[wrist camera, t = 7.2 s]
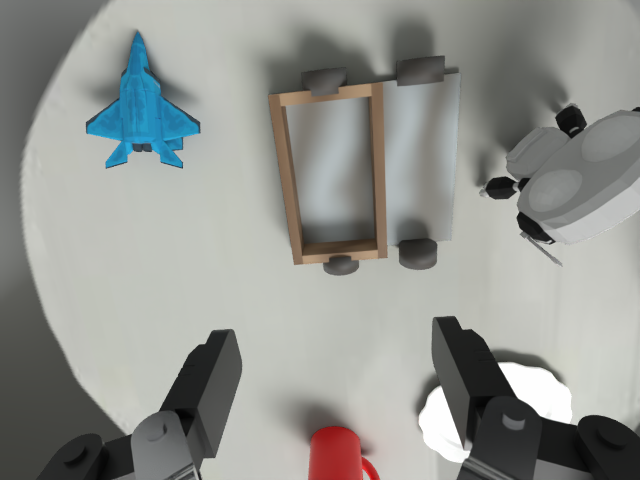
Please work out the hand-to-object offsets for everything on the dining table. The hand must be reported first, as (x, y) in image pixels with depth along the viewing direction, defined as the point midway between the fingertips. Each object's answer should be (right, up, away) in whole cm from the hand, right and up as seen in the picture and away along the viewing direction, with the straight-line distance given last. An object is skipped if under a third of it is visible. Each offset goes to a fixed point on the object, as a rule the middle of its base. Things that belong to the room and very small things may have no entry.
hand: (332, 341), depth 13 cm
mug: (+4, -29, +42) cm, 51 cm away
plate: (+24, -21, +38) cm, 50 cm away
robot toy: (+19, +13, +22) cm, 32 cm away
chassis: (+4, +11, +23) cm, 26 cm away
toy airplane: (-12, +16, +22) cm, 30 cm away
